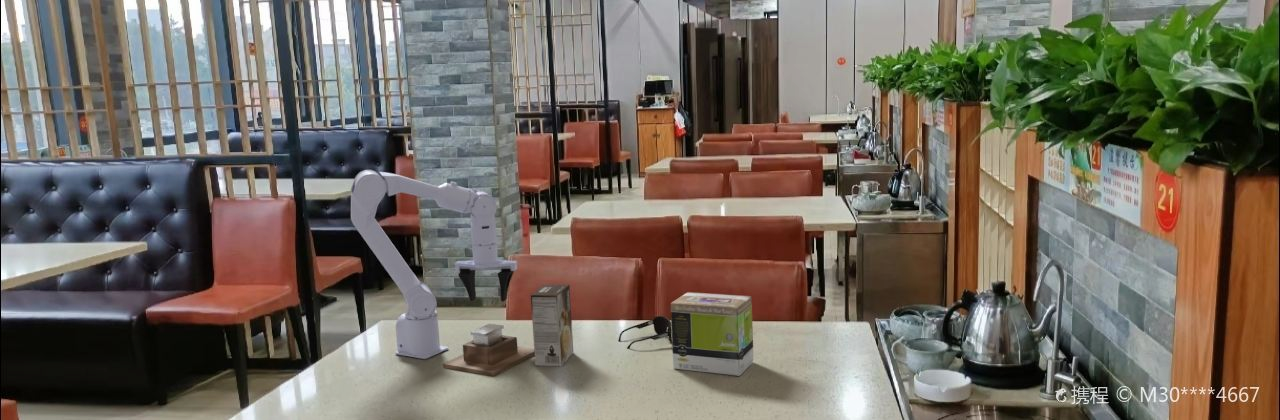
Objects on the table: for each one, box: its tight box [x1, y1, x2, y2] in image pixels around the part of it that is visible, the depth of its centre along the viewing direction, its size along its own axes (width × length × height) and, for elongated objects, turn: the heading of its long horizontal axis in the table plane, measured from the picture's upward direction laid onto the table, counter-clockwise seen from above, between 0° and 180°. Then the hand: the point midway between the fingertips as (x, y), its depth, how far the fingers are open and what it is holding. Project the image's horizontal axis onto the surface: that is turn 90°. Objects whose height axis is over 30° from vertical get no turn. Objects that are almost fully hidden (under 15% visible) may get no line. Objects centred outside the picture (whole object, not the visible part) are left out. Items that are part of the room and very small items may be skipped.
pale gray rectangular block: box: [470, 323, 505, 347], centre depth 192 cm, size 4×7×7 cm, turn 152°
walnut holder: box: [442, 334, 535, 377], centre depth 193 cm, size 14×16×4 cm
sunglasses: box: [618, 315, 672, 350], centre depth 202 cm, size 11×12×5 cm
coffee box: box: [530, 284, 574, 367], centre depth 191 cm, size 9×6×16 cm
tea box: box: [670, 291, 754, 377], centre depth 183 cm, size 15×10×15 cm
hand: (488, 299), depth 204 cm, fingers open, 7 cm apart
